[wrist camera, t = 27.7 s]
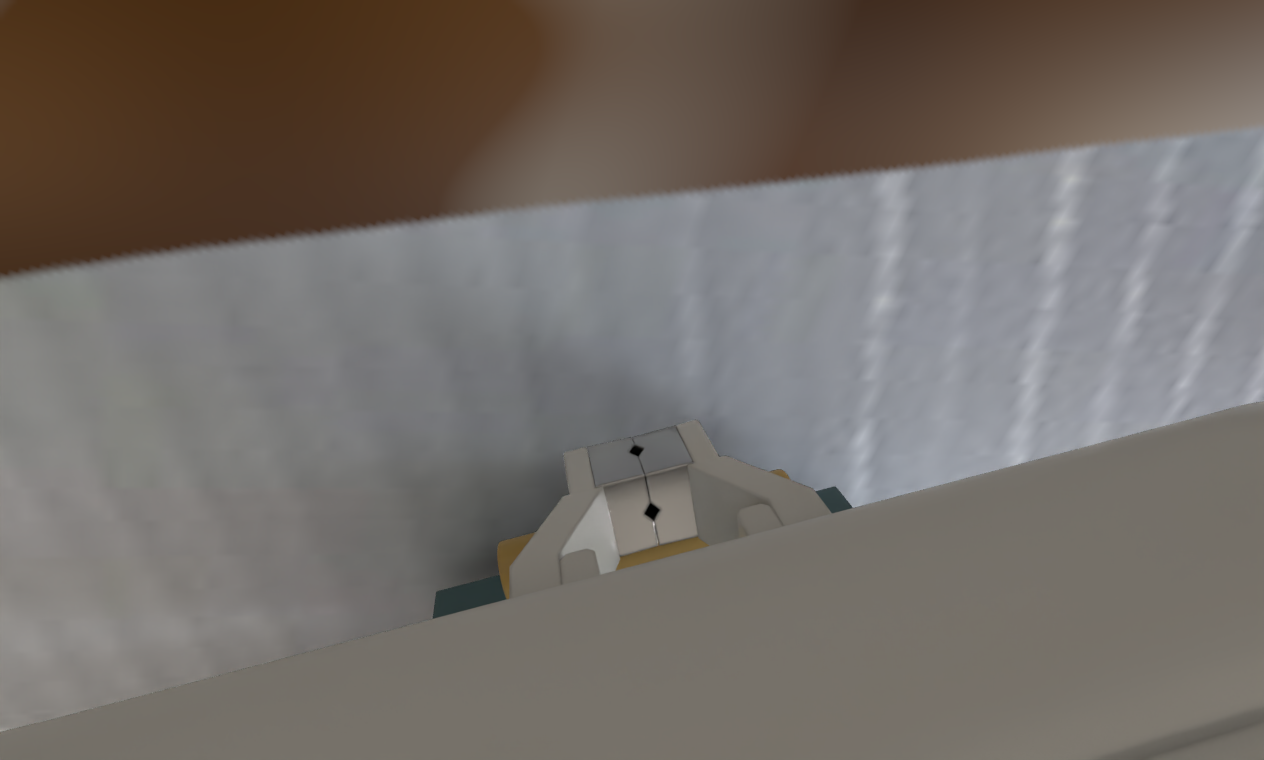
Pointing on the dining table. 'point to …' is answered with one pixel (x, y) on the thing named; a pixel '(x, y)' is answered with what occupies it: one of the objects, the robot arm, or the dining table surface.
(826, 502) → the drawer
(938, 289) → the dining table surface
